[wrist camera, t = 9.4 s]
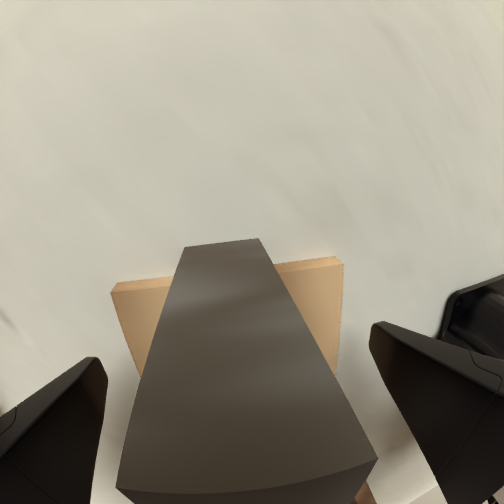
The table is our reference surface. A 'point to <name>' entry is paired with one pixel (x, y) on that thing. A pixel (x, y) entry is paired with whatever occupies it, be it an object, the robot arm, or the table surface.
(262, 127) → the table surface
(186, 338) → the scraper
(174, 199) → the table surface
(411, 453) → the table surface
